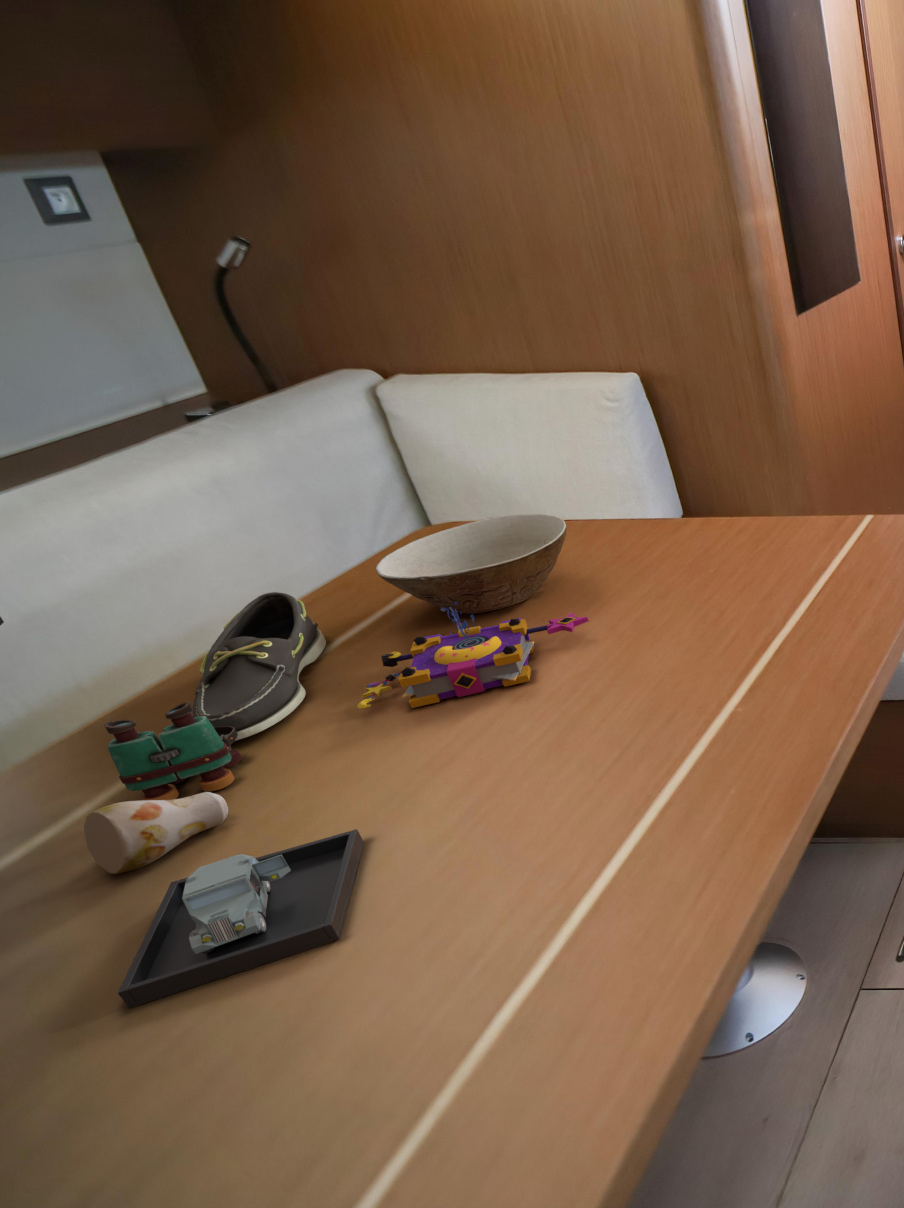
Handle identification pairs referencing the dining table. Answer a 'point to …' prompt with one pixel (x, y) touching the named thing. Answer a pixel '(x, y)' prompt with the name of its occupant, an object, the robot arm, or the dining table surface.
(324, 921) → the tray
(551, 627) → the purple toy
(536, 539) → the bowl
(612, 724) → the dining table surface
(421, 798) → the dining table surface
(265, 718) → the boat shoe
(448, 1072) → the dining table surface
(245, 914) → the toy car
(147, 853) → the mug
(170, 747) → the binoculars
